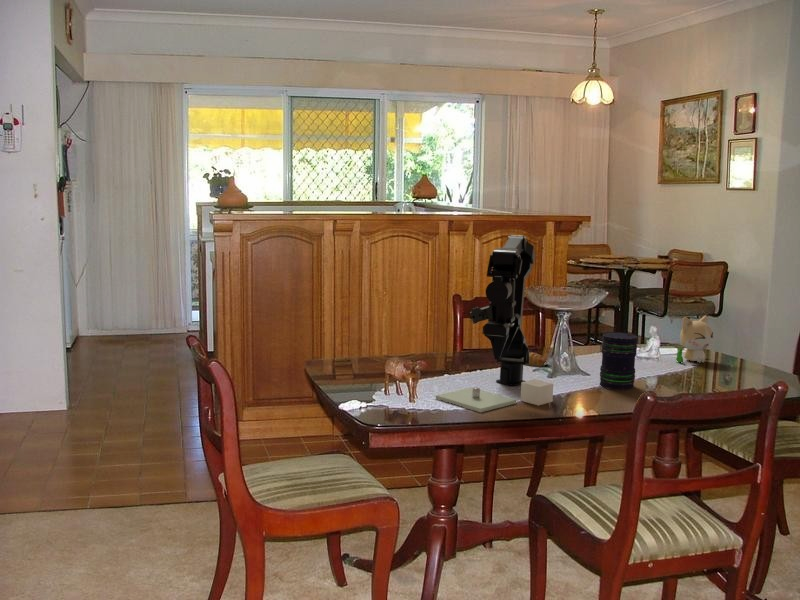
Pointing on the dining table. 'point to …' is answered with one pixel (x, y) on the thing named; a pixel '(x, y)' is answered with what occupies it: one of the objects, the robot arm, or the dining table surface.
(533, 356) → the pastry
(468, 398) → the stub plate
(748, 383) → the dining table surface
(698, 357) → the kitten
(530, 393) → the block
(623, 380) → the storage jar
